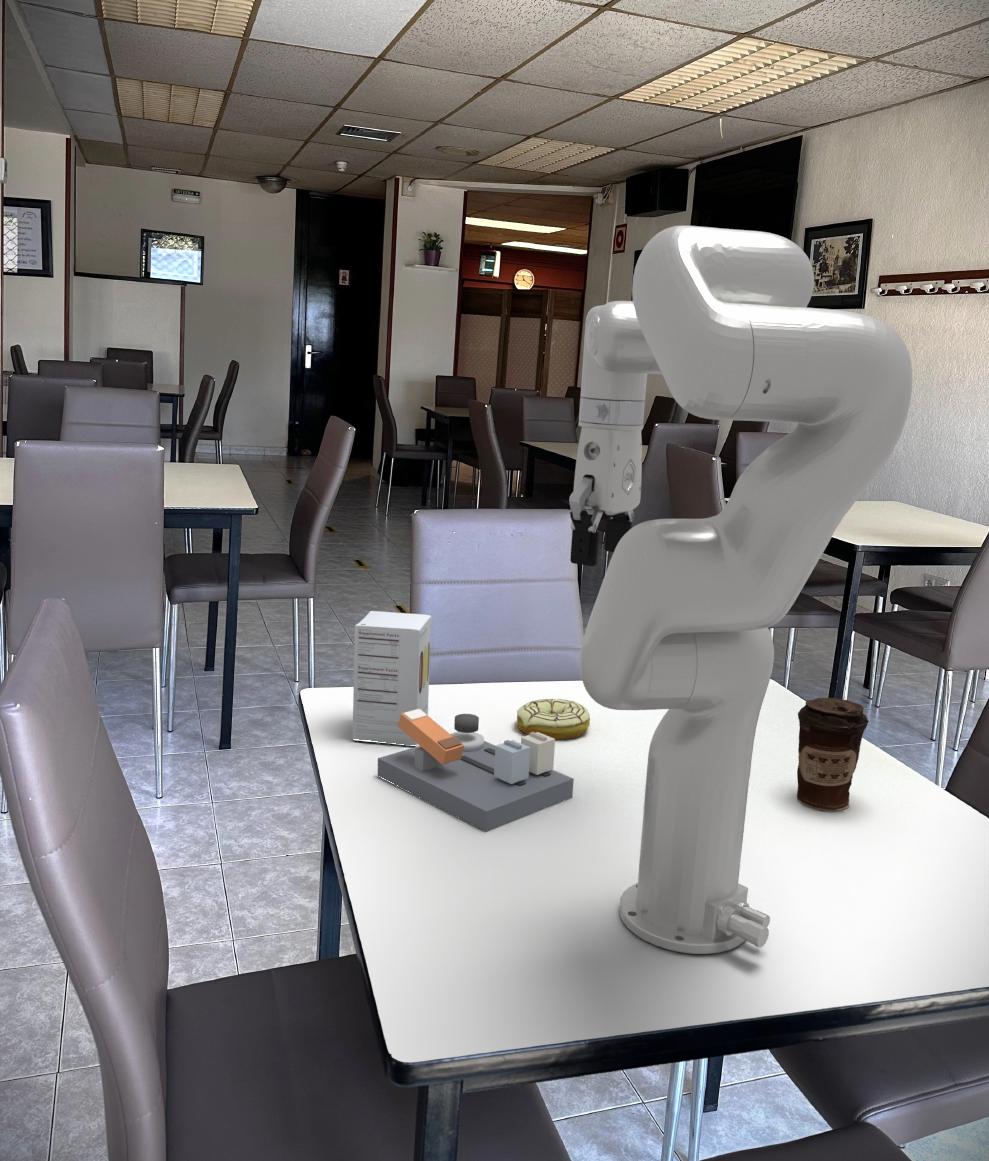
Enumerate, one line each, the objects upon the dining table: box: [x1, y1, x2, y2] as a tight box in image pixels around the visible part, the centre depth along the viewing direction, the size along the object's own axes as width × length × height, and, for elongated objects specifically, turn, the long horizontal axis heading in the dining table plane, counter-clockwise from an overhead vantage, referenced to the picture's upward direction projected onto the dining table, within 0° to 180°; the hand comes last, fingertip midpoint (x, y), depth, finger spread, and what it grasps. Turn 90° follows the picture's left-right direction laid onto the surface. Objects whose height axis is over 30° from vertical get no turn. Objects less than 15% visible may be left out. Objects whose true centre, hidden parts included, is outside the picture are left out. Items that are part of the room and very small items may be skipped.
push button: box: [453, 713, 480, 733], centre depth 135 cm, size 3×3×2 cm
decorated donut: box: [516, 698, 591, 740], centre depth 150 cm, size 10×11×4 cm
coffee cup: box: [796, 697, 870, 812], centre depth 127 cm, size 9×8×13 cm
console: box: [377, 731, 575, 832], centre depth 128 cm, size 20×15×5 cm
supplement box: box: [352, 610, 432, 746], centre depth 143 cm, size 10×9×17 cm
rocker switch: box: [398, 709, 464, 765], centre depth 127 cm, size 9×3×2 cm, turn 45°
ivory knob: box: [520, 732, 556, 775], centre depth 127 cm, size 3×3×4 cm
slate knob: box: [494, 739, 530, 784], centre depth 124 cm, size 3×3×4 cm
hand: (600, 558), depth 122 cm, fingers open, 9 cm apart
